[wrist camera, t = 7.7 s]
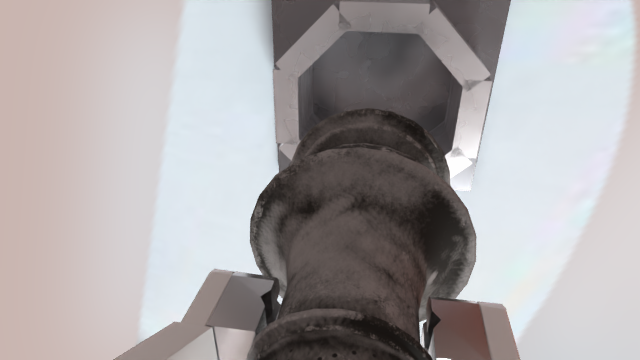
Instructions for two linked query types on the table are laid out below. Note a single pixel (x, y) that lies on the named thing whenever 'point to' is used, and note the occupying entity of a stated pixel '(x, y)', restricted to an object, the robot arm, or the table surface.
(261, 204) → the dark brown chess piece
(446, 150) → the duct collar
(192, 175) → the table surface
